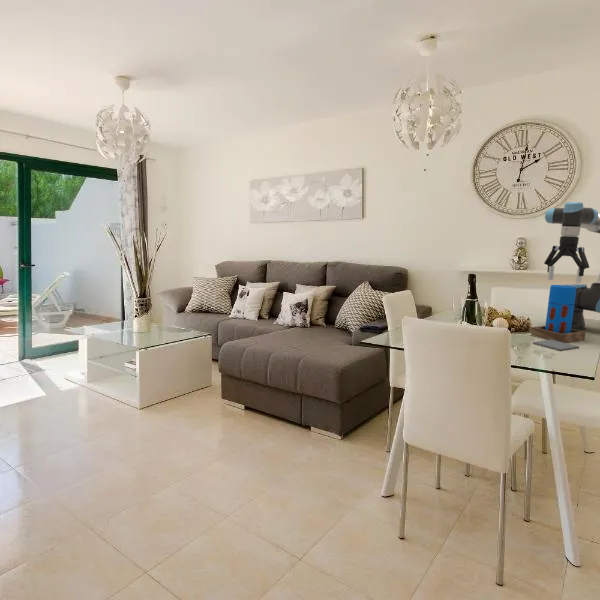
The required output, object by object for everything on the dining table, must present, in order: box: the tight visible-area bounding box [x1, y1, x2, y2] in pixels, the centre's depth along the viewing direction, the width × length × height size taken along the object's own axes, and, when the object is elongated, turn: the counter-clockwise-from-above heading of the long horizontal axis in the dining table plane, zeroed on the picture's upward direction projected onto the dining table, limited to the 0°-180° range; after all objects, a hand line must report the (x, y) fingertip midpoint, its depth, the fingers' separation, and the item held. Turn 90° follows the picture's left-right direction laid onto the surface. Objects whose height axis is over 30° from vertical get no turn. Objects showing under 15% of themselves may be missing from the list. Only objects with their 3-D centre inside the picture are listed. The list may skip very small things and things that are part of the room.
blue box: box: [544, 284, 576, 334], centre depth 216 cm, size 11×11×25 cm
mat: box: [532, 339, 580, 352], centre depth 202 cm, size 13×13×1 cm
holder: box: [529, 325, 586, 344], centre depth 218 cm, size 16×16×4 cm
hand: (563, 281), depth 214 cm, fingers open, 13 cm apart
